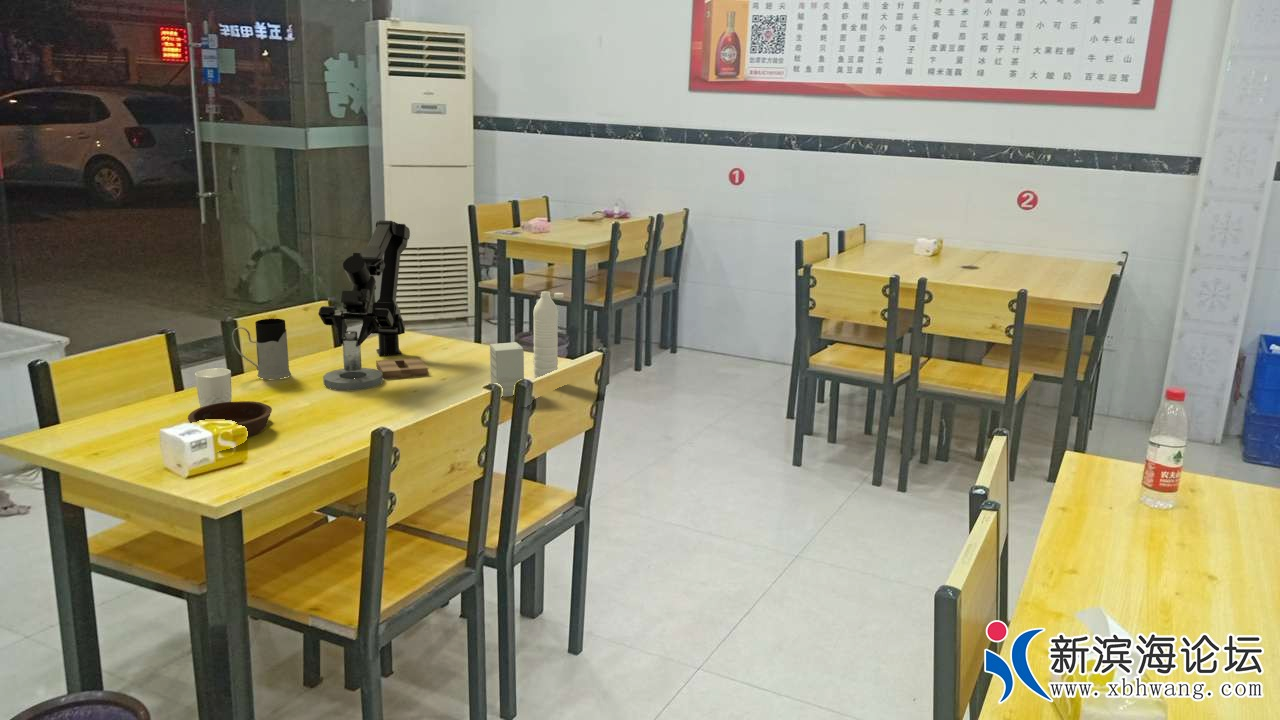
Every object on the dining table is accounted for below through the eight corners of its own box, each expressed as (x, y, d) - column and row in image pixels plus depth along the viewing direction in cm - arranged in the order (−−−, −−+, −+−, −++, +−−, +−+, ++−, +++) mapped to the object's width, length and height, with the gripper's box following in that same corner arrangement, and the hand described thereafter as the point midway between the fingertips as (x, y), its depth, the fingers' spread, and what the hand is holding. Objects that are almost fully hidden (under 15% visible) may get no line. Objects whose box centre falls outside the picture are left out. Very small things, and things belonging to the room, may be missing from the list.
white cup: (217, 419, 239) (214, 378, 237) (191, 415, 242) (187, 374, 239) (241, 410, 246) (238, 370, 244) (215, 406, 249) (211, 366, 246)
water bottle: (528, 383, 274) (528, 292, 268) (542, 378, 279) (542, 288, 273) (555, 388, 270) (555, 295, 263) (569, 383, 275) (569, 292, 269)
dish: (164, 442, 224) (162, 421, 223) (234, 414, 244) (233, 394, 243) (228, 453, 218) (226, 431, 217) (295, 423, 238) (294, 403, 237)
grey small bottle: (353, 365, 273) (351, 329, 271) (365, 368, 271) (363, 331, 268) (340, 369, 270) (338, 332, 267) (352, 372, 267) (350, 335, 265)
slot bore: (376, 367, 286) (376, 360, 285) (419, 364, 290) (419, 357, 290) (383, 378, 275) (383, 371, 275) (427, 375, 280) (427, 368, 279)
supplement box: (517, 387, 270) (517, 341, 267) (524, 395, 263) (524, 348, 260) (490, 390, 267) (489, 343, 264) (496, 398, 261) (495, 350, 257)
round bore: (321, 377, 275) (320, 370, 274) (377, 372, 281) (377, 365, 280) (327, 392, 262) (326, 385, 261) (386, 387, 267) (386, 380, 267)
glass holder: (289, 379, 273) (286, 324, 269) (233, 381, 269) (228, 326, 265) (292, 370, 281) (288, 317, 277) (237, 373, 277) (233, 319, 274)
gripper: (318, 276, 268) (305, 326, 261) (388, 278, 267) (376, 329, 260) (331, 299, 278) (318, 348, 270) (398, 302, 277) (387, 351, 269)
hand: (349, 344), depth 267 cm, fingers closed on grey small bottle, 4 cm apart
